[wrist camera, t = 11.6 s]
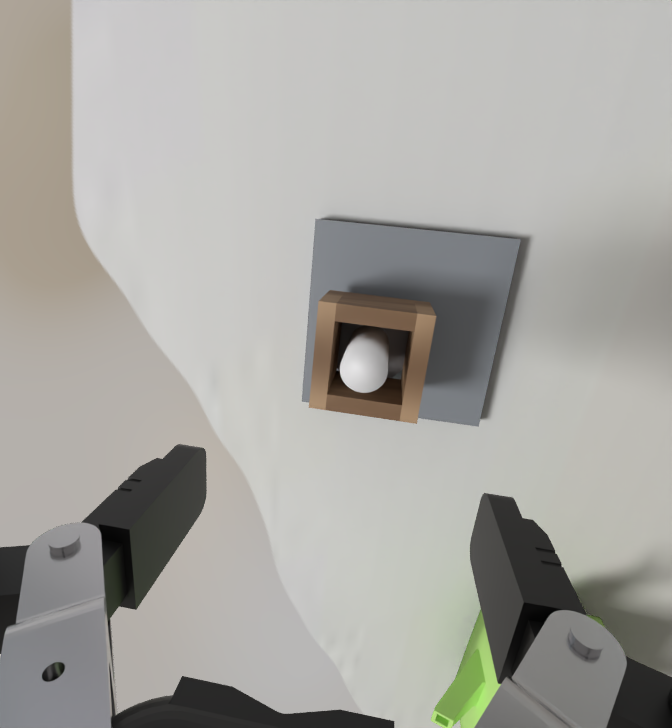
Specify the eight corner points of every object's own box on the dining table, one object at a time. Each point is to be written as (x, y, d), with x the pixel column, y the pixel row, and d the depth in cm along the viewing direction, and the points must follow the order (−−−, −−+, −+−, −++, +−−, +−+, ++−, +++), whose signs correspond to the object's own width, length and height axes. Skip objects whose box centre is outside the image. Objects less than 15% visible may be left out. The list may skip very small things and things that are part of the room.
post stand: (318, 219, 28) (290, 215, 21) (515, 238, 27) (563, 243, 19) (305, 395, 33) (277, 447, 25) (475, 419, 31) (502, 481, 24)
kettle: (557, 541, 34) (633, 685, 23) (641, 657, 36) (745, 835, 26) (402, 612, 38) (406, 761, 27) (487, 711, 40) (521, 883, 30)
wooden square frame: (329, 289, 27) (318, 300, 23) (429, 302, 27) (436, 315, 22) (321, 381, 29) (308, 407, 25) (413, 395, 29) (416, 423, 24)
